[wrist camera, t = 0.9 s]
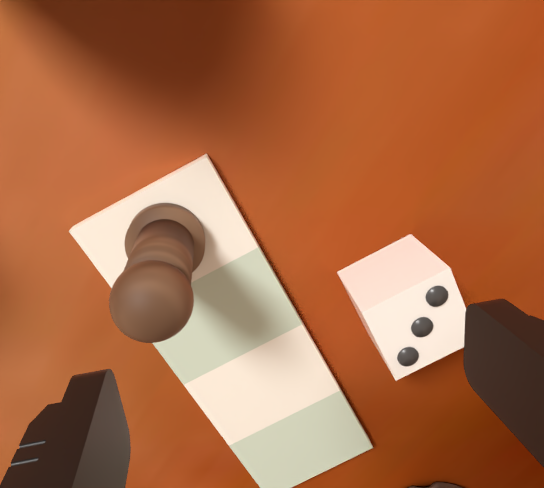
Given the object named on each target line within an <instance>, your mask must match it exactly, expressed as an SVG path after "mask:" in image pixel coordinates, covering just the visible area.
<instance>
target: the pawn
mask: <svg viewBox="0 0 544 488" xmlns="http://www.w3.org/2000/svg"><path fill="white" fill-rule="evenodd" d="M125 252H126V255H127V258H128V261H127V263H126V266H125V268H124V271H123V272H122V273H121V274H120V275H119V276H118V278H117V279H116V281H115V283H114V284H113V287H112V289H111V293H110V298H109V308H110V313H111V316H112V319H113V321H114V323H115V324H116V326H117V327H118V328H119V329H120V331H121V332H123V333H124V334H125V335H126V336H128V337H130V338H132V339H134V340H136V341H140V342H145V343H156V342H161V341H164V340H167V339H169V338H171V337H173V336H175V335H176V334H177V333H179V332H180V331H181V330H182V329H183V328H184V327H185V325H186V324H187V322H188V320H189V319H190V317H191V314H192V311H193V306H194V295H193V290H192V287H191V280H192V272H194V271H195V270H196V269H197V267H198V266H199V265H200V263H201V261H202V259H203V256H204V252H205V233H204V229H203V226H202V224H201V222H200V221H199V219H198V218H197V217H196V216H195V215H194V214H193V213H192V212H191V211H190V210H188V209H187V208H185V207H183V206H180V205H177V204H173V203H157V204H153V205H150V206H148V207H146V208H144V209H143V210H141V211H140V212H139V213H138V214H137V215H136V216H135V217H134V219H133V220H132V222H131V224H130V226H129V228H128V230H127V233H126V236H125Z"/></svg>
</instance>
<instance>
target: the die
mask: <svg viewBox="0 0 544 488" xmlns="http://www.w3.org/2000/svg"><path fill="white" fill-rule="evenodd" d="M337 273H338V275H339V277H340V279H341V281H342V283H343V285H344V287H345V289H346V291H347V293H348V295H349V297H350V299H351V301H352V303H353V305H354V307H355V309H356V311H357V313H358V315H359V317H360V319H361V321H362V323H363V325H364V327H365V329H366V331H367V333H368V334H369V336H370V338H371V339H372V341H373V343H374V345H375V346H376V348H377V350H378V351H379V353H380V355H381V356H382V358H383V360H384V362H385V363H386V365H387V367H388V368H389V370H390V372H391V374H392V375H393V377H394V379H395V380H398V379H400V378H402V377H404V376H406V375H408V374H410V373H412V372H415V371H417V370H419V369H421V368H423V367H425V366H427V365H429V364H431V363H433V362H435V361H437V360H439V359H441V358H443V357H445V356H447V355H449V354H451V353H453V352H455V351H457V350H459V349H461V348H463V347H464V334H465V312H466V307H465V305H464V302H463V300H462V297H461V295H460V292H459V290H458V287H457V284H456V282H455V279H454V277H453V274H452V272H451V269H450V267H449V266H448V265H446V264H445V263H444V262H443V261H442V260H441V259H439V258H438V257H437V256H436V255H435V254H434V253H432V252H431V251H430V250H429V249H428V248H427V247H425V246H424V245H423V244H422V243H421V242H419V241H418V240H417V239H416V238H415V237H414V236H412V235H411V234H410V235H408V236H406V237H404V238H402V239H400V240H398V241H396V242H394V243H392V244H390V245H388V246H386V247H384V248H382V249H381V250H379V251H377V252H375V253H373V254H371V255H369V256H367V257H365V258H363V259H361V260H359V261H357V262H355V263H353V264H351V265H349V266H348V267H346V268H344V269H342V270H340V271H338V272H337Z"/></svg>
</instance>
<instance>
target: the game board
mask: <svg viewBox="0 0 544 488" xmlns="http://www.w3.org/2000/svg"><path fill="white" fill-rule="evenodd" d="M157 203H173V204H177V205H180V206H183V207H185V208H187V209H188V210H190V211H191V212H192V213H193V214H194V215H195V216H196V217H197V218H198V219H199V221H200V222H201V224H202V226H203V229H204V233H205V252H204V256H203V259H202V261H201V263H200V265H199V266H198V267H197V269H196V270H195V271H194V272H192V280H191V287H192V290H193V295H194V306H193V311H192V314H191V317H190V319H189V320H188V322H187V324H186V325H185V327H184V328H183V329H182V330H181V331H180V332H179V333H177V334H176V335H175V336H173V337H171V338H169V339H167V340H164V341H161V342H156V343H153V344H154V346H155V347H156V348H157V350H158V351H159V352H160V354H161V355H162V356H163V358H164V359H165V361H166V362H167V363H168V365H169V366H170V367H171V369H172V370H173V371H174V373H175V374H176V375H177V377H178V378H179V379H180V381H181V382H182V383H183V385H184V386H185V387H186V389H187V390H188V391H189V393H190V394H191V395H192V397H193V398H194V399H195V401H196V402H197V403H198V405H199V406H200V407H201V409H202V410H203V411H204V413H205V414H206V415H207V417H208V418H209V420H210V421H211V422H212V424H213V425H214V426H215V428H216V429H217V430H218V432H219V433H220V434H221V436H222V437H223V438H224V440H225V441H226V442H227V444H228V445H229V446H230V448H231V449H232V450H233V452H234V453H235V454H236V456H237V457H238V458H239V460H240V461H241V462H242V464H243V465H244V466H245V468H246V469H247V470H248V472H249V473H250V474H251V476H252V477H253V479H254V480H255V481H256V483H257V484H258V485H259V487H260V488H291V487H293V486H296V485H298V484H300V483H302V482H304V481H306V480H308V479H310V478H312V477H314V476H316V475H318V474H320V473H322V472H324V471H326V470H328V469H330V468H332V467H334V466H337V465H339V464H341V463H343V462H345V461H347V460H349V459H351V458H353V457H355V456H357V455H359V454H361V453H363V452H365V451H367V450H369V449H371V448H373V446H372V444H371V442H370V439H369V438H368V436H367V434H366V432H365V431H364V429H363V427H362V425H361V424H360V422H359V420H358V418H357V416H356V415H355V413H354V411H353V409H352V408H351V406H350V404H349V402H348V401H347V399H346V397H345V395H344V394H343V392H342V390H341V388H340V387H339V385H338V383H337V381H336V380H335V378H334V376H333V374H332V373H331V371H330V369H329V367H328V366H327V364H326V362H325V360H324V359H323V357H322V355H321V353H320V351H319V350H318V348H317V346H316V344H315V343H314V341H313V339H312V337H311V336H310V334H309V332H308V330H307V329H306V327H305V325H304V323H303V322H302V320H301V318H300V316H299V315H298V313H297V311H296V309H295V308H294V306H293V304H292V302H291V301H290V299H289V297H288V295H287V293H286V292H285V290H284V288H283V286H282V285H281V283H280V281H279V279H278V278H277V276H276V274H275V272H274V271H273V269H272V267H271V265H270V264H269V262H268V260H267V258H266V257H265V255H264V253H263V251H262V250H261V248H260V246H259V244H258V243H257V241H256V239H255V237H254V236H253V234H252V232H251V230H250V228H249V227H248V225H247V223H246V221H245V220H244V218H243V216H242V214H241V213H240V211H239V209H238V207H237V206H236V204H235V202H234V200H233V199H232V197H231V195H230V193H229V192H228V190H227V188H226V186H225V185H224V183H223V181H222V179H221V178H220V176H219V174H218V172H217V170H216V169H215V167H214V165H213V163H212V162H211V160H210V158H209V156H208V155H207V154H205V155H203V156H201V157H199V158H198V159H196V160H194V161H192V162H190V163H188V164H187V165H185V166H183V167H181V168H179V169H177V170H175V171H174V172H172V173H170V174H168V175H166V176H164V177H163V178H161V179H159V180H157V181H155V182H153V183H151V184H150V185H148V186H146V187H144V188H142V189H140V190H139V191H137V192H135V193H133V194H131V195H129V196H128V197H126V198H124V199H122V200H120V201H118V202H116V203H115V204H113V205H111V206H109V207H107V208H105V209H104V210H102V211H100V212H98V213H96V214H94V215H92V216H91V217H89V218H87V219H85V220H83V221H81V222H80V223H78V224H76V225H74V226H73V227H72V228H71V229H70V230H69V232H70V233H71V234H72V236H73V237H74V239H75V240H76V241H77V243H78V244H79V245H80V247H81V248H82V249H83V251H84V252H85V253H86V255H87V256H88V257H89V259H90V260H91V261H92V263H93V264H94V265H95V267H96V268H97V269H98V271H99V272H100V273H101V275H102V276H103V277H104V279H105V280H106V281H107V283H108V284H109V285H110V287H111V288H112V287H113V284H114V283H115V281H116V279H117V278H118V276H119V275H120V274H121V273H122V272H123V271H124V268H125V266H126V263H127V261H128V258H127V255H126V252H125V236H126V233H127V230H128V228H129V226H130V224H131V222H132V220H133V219H134V217H135V216H136V215H137V214H138V213H139V212H140V211H141V210H143V209H144V208H146V207H148V206H150V205H153V204H157Z"/></svg>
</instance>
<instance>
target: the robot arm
mask: <svg viewBox="0 0 544 488" xmlns="http://www.w3.org/2000/svg"><path fill="white" fill-rule="evenodd" d="M464 370H465V374H466V377H467V379H468V382H469V384H470V385H471V387H472V388H473V390H474V391H475V392H476V393H477V394H478V395H479V396H480V398H481V399H482V400H483V401H484V402H485V403H486V404H487V405H488V406H489V407H490V409H491V410H492V411H493V412H494V413H495V414H496V415H497V416H498V417H499V419H500V420H501V421H502V422H503V423H504V424H505V425H506V426H507V427H508V428H509V430H510V431H511V432H512V433H513V434H514V435H515V436H516V437H517V438H518V439H519V441H520V442H521V443H522V444H523V445H524V446H525V447H526V448H527V449H528V451H529V452H530V453H531V454H532V455H533V456H534V457H535V458H536V459H537V460H538V462H539V463H540V464H541V465H542V466H543V467H544V320H541V319H539V318H536V317H533V316H531V315H530V316H528V315H527V314H526V313H524V312H523V311H521V310H520V309H518V308H517V307H516V306H514V305H513V304H511V303H510V302H508V301H507V300H505V299H496V300H491V301H485V302H480V303H474V304H470V305H469V306H468V307H467V309H466V312H465V334H464ZM19 446H20V448H19V449H17V451H16V453H15V455H14V457H13V459H12V461H11V467H9V468H8V470H7V472H6V474H5V476H4V478H3V480H2V482H1V485H0V488H125V485H126V479H127V473H128V467H129V461H130V435H129V429H128V425H127V421H126V417H125V413H124V410H123V406H122V402H121V398H120V395H119V391H118V387H117V383H116V380H115V376H114V374H113V372H112V370H111V369H106V370H100V371H95V372H89V373H84V374H78V375H74V376H72V378H71V380H70V382H69V385H68V387H67V389H66V392H65V394H64V397H63V399H62V402H60V403H55V404H50V405H47V406H46V407H45V408H44V409H43V411H42V412H41V413H40V414H39V415H38V416H37V417H36V418H35V419H34V420H33V421H32V422H31V423H30V424H29V426H28V428H27V430H26V432H25V434H24V436H23V438H22V440H21V442H20V445H19Z"/></svg>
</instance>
